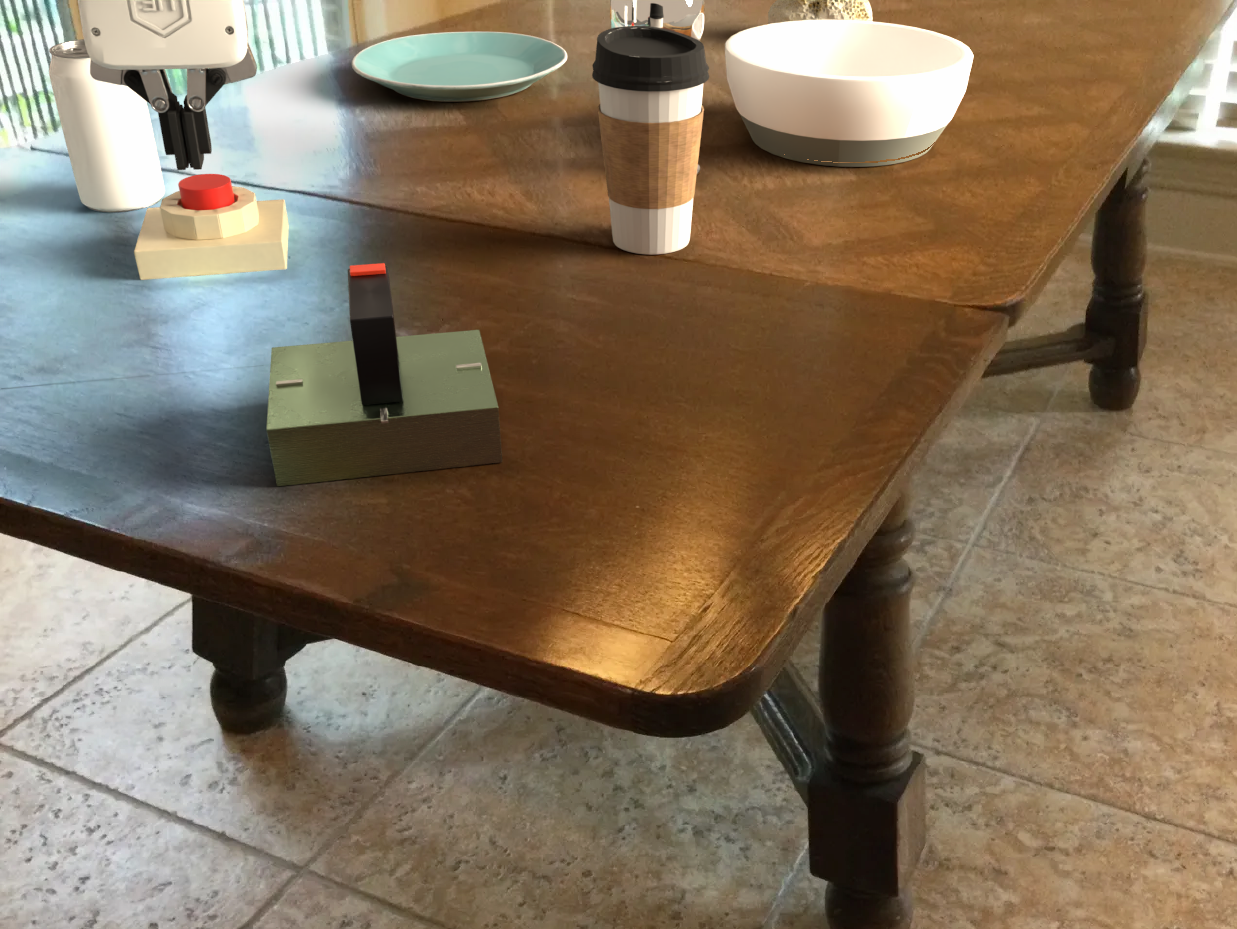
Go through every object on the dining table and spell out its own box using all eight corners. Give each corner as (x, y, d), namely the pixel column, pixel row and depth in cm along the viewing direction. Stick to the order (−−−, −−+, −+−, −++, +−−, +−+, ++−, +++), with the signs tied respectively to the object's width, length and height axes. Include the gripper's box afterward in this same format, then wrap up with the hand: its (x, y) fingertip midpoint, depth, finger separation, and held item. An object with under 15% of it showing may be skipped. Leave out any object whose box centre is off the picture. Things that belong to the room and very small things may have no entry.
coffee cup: (653, 213, 105) (653, 18, 97) (728, 242, 100) (735, 39, 92) (573, 239, 100) (566, 35, 92) (648, 270, 95) (647, 58, 87)
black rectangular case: (403, 401, 70) (392, 311, 67) (361, 406, 70) (349, 315, 67) (397, 346, 76) (387, 261, 73) (358, 349, 75) (346, 264, 73)
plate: (397, 124, 124) (393, 94, 123) (326, 70, 140) (323, 42, 139) (605, 95, 134) (604, 67, 132) (516, 48, 150) (515, 22, 148)
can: (149, 215, 103) (115, 58, 96) (67, 213, 103) (27, 56, 96) (178, 188, 108) (147, 37, 102) (100, 186, 108) (64, 36, 102)
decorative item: (867, -7, 158) (883, -29, 148) (856, 68, 160) (872, 51, 150) (769, -22, 157) (779, -45, 148) (759, 53, 159) (768, 36, 149)
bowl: (876, 95, 135) (884, 11, 131) (1011, 158, 119) (1026, 63, 114) (681, 120, 127) (682, 30, 122) (798, 191, 110) (804, 90, 106)
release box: (140, 280, 92) (127, 226, 90) (153, 235, 99) (141, 184, 97) (287, 270, 94) (278, 216, 92) (289, 226, 101) (280, 175, 99)
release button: (180, 215, 93) (175, 191, 92) (185, 198, 96) (180, 175, 95) (233, 212, 94) (229, 188, 93) (236, 195, 97) (231, 172, 96)
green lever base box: (276, 492, 69) (265, 432, 67) (281, 396, 78) (271, 340, 76) (503, 468, 71) (499, 409, 69) (482, 377, 81) (478, 322, 79)
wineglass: (703, 158, 117) (708, -85, 106) (701, 187, 111) (705, -69, 100) (616, 156, 117) (612, -87, 106) (609, 184, 111) (603, -71, 100)
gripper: (3, -117, 78) (69, 184, 88) (263, -113, 81) (299, 176, 91) (25, -131, 84) (85, 152, 94) (267, -127, 88) (300, 146, 97)
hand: (191, 163), depth 93 cm, fingers closed
